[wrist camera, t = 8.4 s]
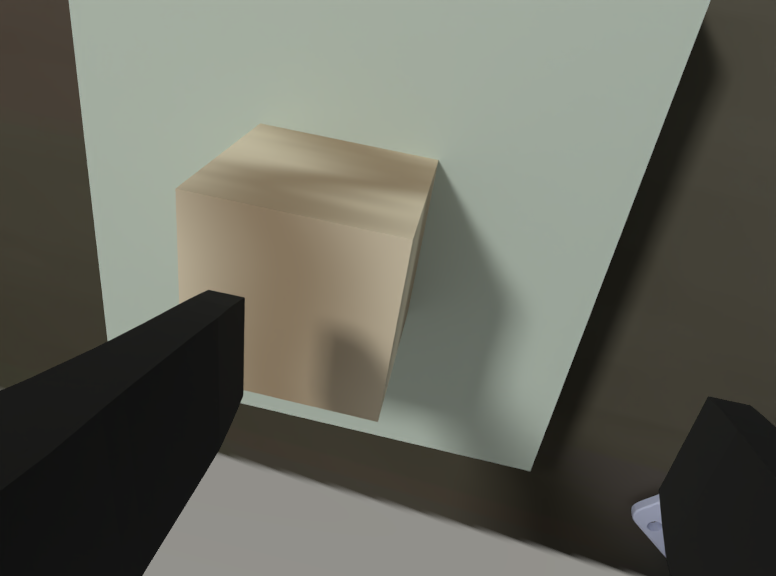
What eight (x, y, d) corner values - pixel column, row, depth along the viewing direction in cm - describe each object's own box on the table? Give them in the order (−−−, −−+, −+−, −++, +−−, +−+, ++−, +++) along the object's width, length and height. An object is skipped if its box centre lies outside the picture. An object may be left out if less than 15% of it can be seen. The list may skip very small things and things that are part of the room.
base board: (687, -26, 14) (717, -19, 12) (528, 417, 22) (530, 471, 19) (117, -125, 15) (53, -133, 13) (149, 330, 23) (111, 372, 20)
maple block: (438, 159, 15) (413, 239, 11) (408, 312, 17) (377, 422, 13) (260, 123, 15) (175, 188, 11) (253, 278, 18) (181, 375, 14)
